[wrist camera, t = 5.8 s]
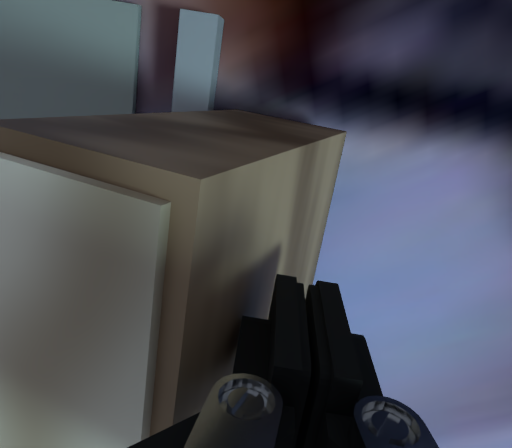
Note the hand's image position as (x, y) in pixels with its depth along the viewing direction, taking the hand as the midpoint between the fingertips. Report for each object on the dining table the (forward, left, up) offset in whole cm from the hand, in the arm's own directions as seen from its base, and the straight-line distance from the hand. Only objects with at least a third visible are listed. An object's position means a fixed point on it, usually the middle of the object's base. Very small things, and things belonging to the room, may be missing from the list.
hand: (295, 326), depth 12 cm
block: (+1, 0, -9) cm, 9 cm away
